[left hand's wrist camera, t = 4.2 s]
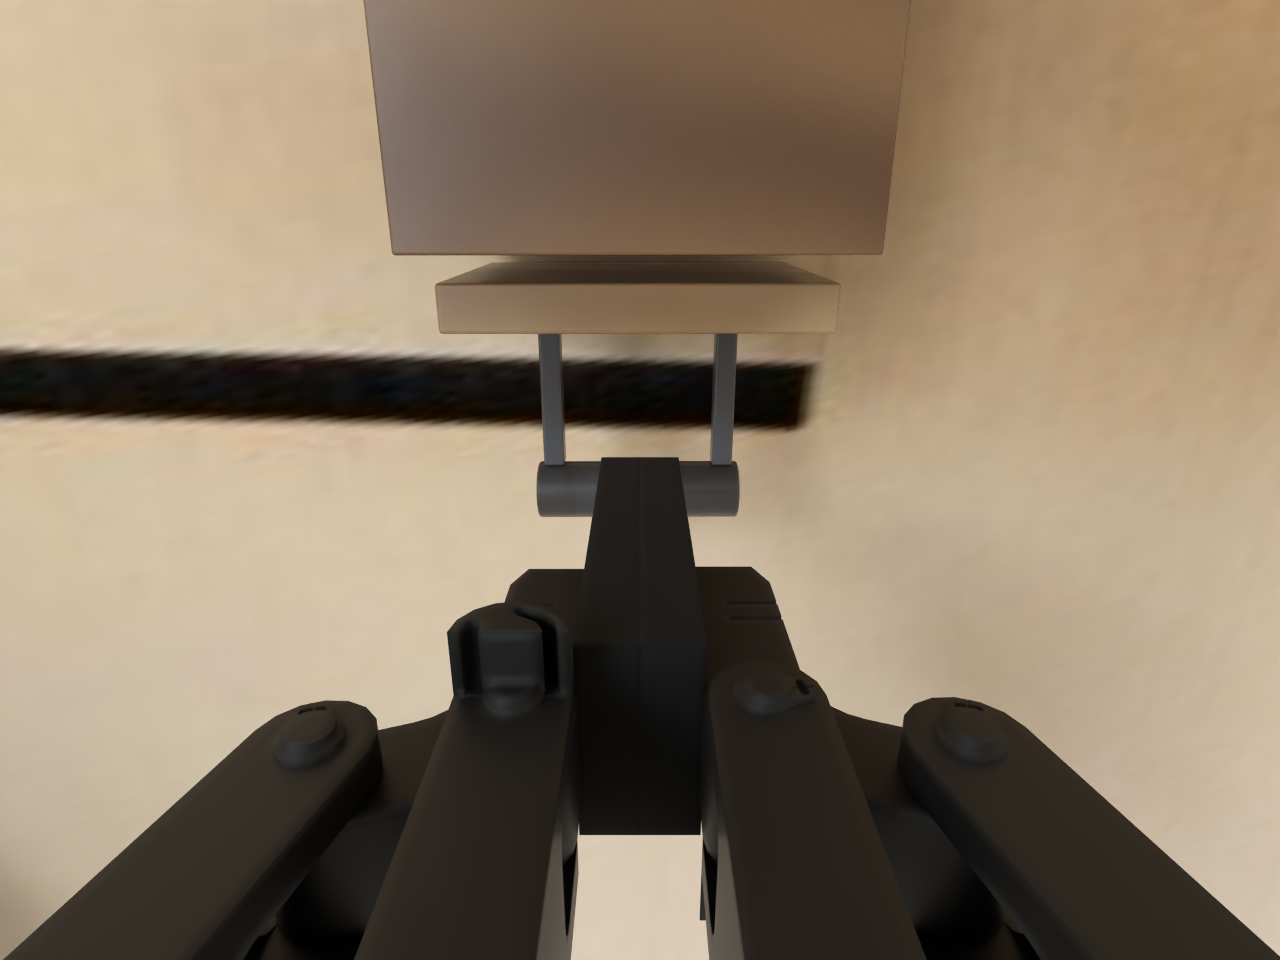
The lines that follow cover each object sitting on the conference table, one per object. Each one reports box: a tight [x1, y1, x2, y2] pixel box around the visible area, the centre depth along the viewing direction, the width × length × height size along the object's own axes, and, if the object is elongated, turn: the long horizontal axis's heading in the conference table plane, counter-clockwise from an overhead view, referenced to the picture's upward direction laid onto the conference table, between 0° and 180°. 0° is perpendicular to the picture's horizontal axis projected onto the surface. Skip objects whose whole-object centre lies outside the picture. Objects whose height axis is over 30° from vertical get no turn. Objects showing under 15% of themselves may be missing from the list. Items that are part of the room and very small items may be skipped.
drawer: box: [435, 262, 840, 517], centre depth 20 cm, size 21×10×7 cm, turn 0°
